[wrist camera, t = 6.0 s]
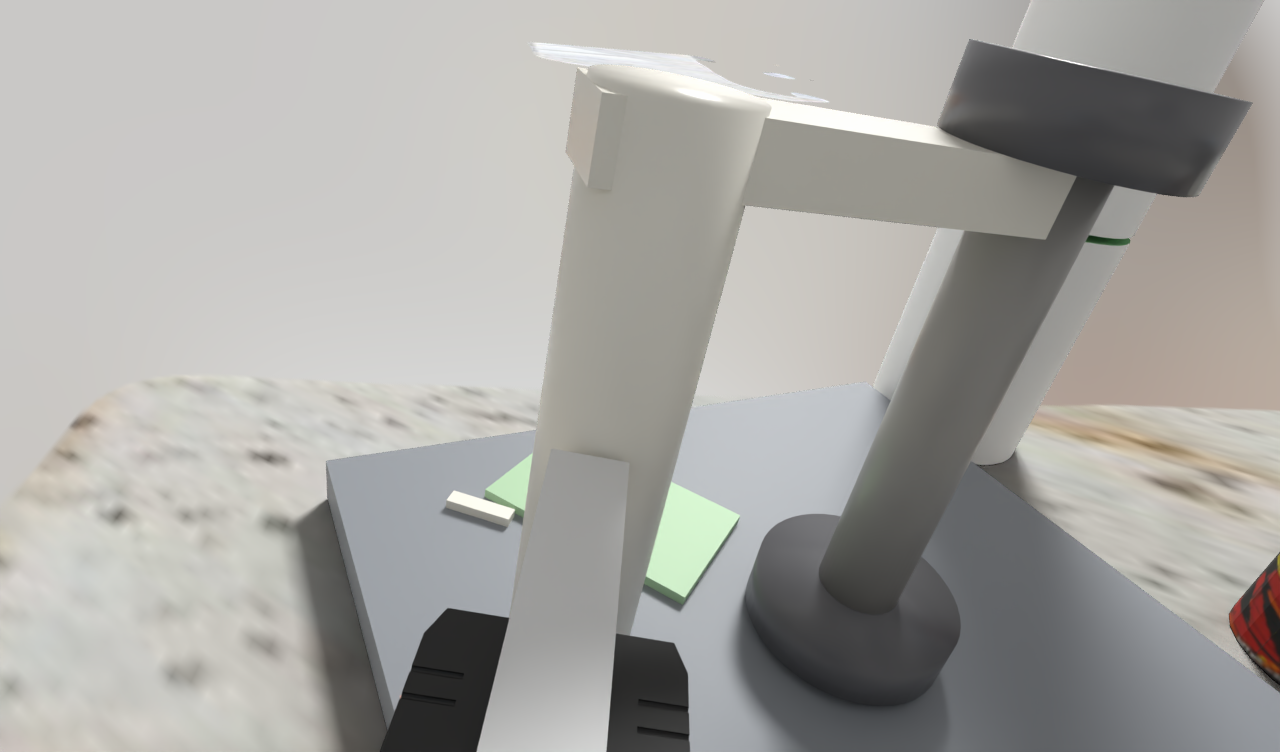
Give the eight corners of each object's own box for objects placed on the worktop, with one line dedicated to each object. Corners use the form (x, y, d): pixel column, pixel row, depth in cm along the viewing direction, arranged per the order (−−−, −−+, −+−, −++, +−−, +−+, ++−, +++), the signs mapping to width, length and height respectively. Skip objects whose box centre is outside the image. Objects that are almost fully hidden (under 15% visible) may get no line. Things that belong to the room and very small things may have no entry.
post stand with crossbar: (874, 543, 24) (1099, 66, 16) (982, 693, 19) (1359, 126, 12) (496, 561, 20) (572, -48, 13) (519, 755, 15) (657, -24, 8)
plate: (854, 407, 35) (867, 376, 34) (1409, 850, 20) (1459, 814, 19) (327, 497, 23) (325, 452, 22) (668, 1816, 8) (708, 1840, 7)
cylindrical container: (961, 385, 40) (1227, -168, 28) (1045, 467, 34) (1434, -192, 22) (845, 377, 38) (1075, -220, 26) (913, 462, 32) (1255, -262, 20)
